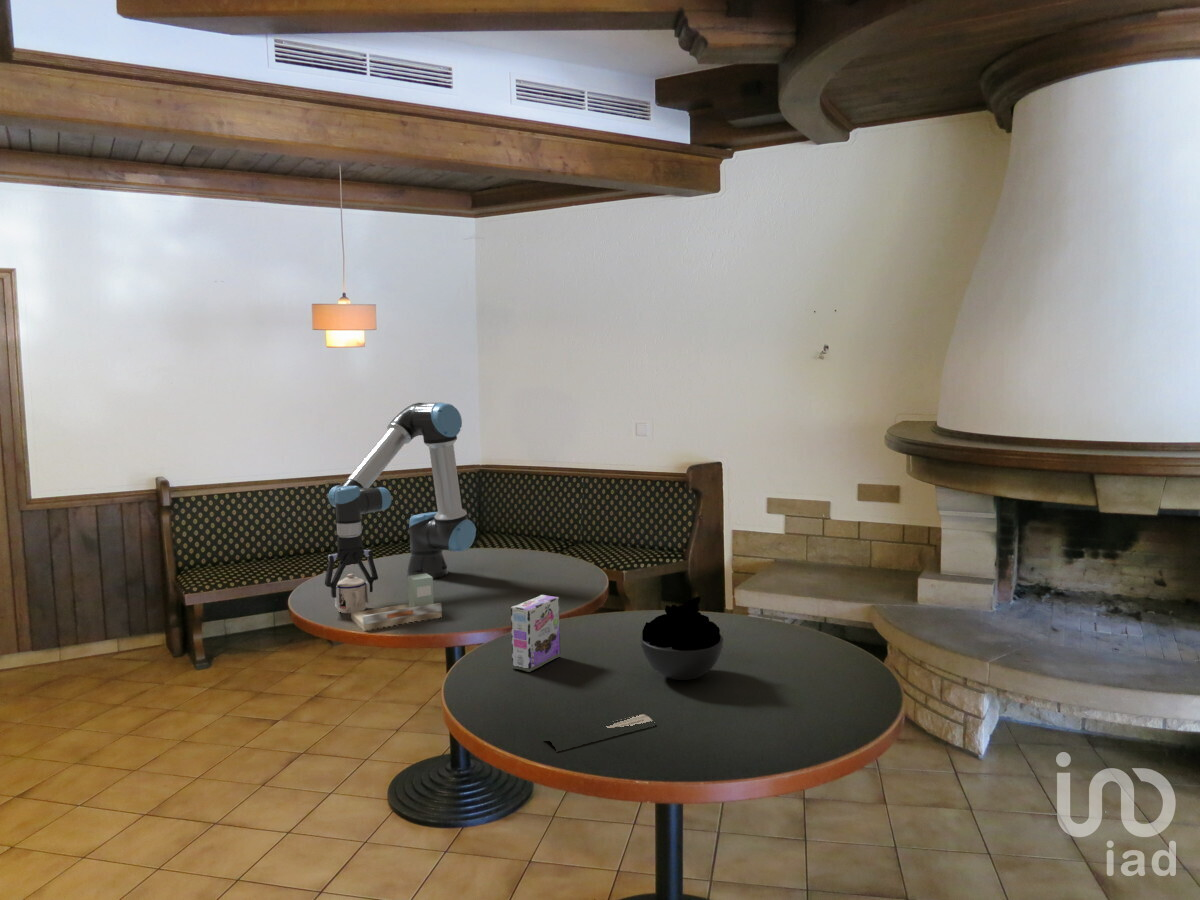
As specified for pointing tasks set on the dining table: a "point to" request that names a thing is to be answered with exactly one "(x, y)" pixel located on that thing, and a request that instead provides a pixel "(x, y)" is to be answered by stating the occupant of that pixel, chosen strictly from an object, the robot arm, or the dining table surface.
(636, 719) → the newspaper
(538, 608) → the candy box
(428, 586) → the tin
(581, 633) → the dining table surface
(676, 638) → the bowl of black rocks
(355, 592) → the teacup with lid
